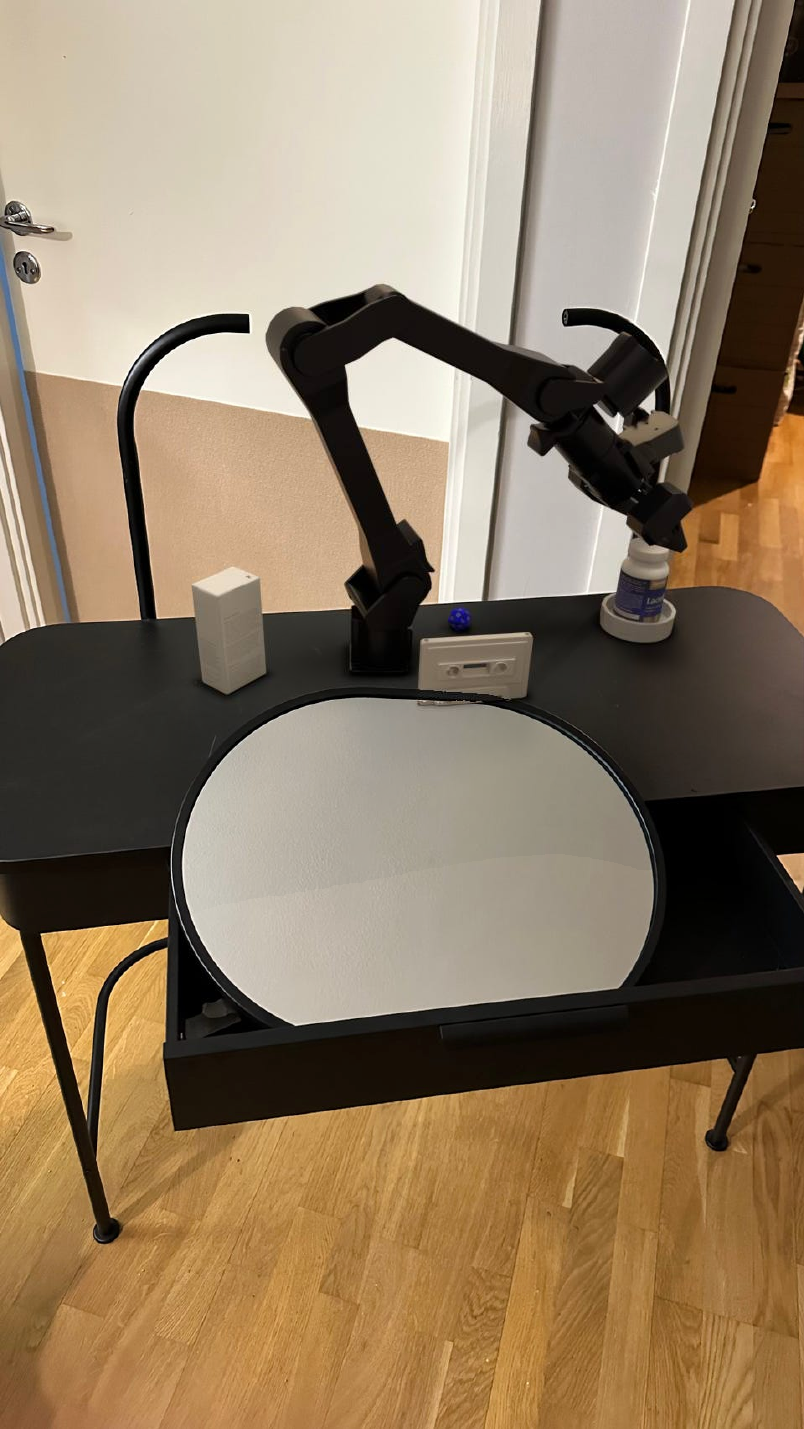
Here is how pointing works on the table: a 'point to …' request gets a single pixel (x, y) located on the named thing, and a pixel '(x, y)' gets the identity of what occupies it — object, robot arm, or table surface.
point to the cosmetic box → (229, 629)
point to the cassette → (463, 650)
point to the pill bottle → (642, 583)
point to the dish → (636, 623)
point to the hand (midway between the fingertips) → (663, 533)
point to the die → (459, 618)
